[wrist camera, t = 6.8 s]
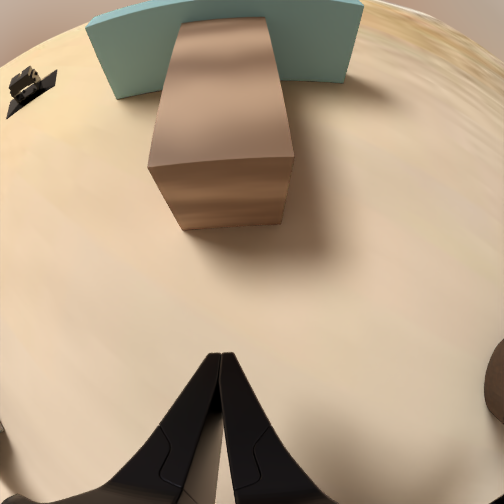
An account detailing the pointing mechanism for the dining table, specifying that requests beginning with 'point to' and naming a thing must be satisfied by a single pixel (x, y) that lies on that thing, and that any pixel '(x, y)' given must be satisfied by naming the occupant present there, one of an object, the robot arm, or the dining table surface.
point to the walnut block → (222, 127)
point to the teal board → (217, 7)
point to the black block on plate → (32, 91)
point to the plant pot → (496, 382)
